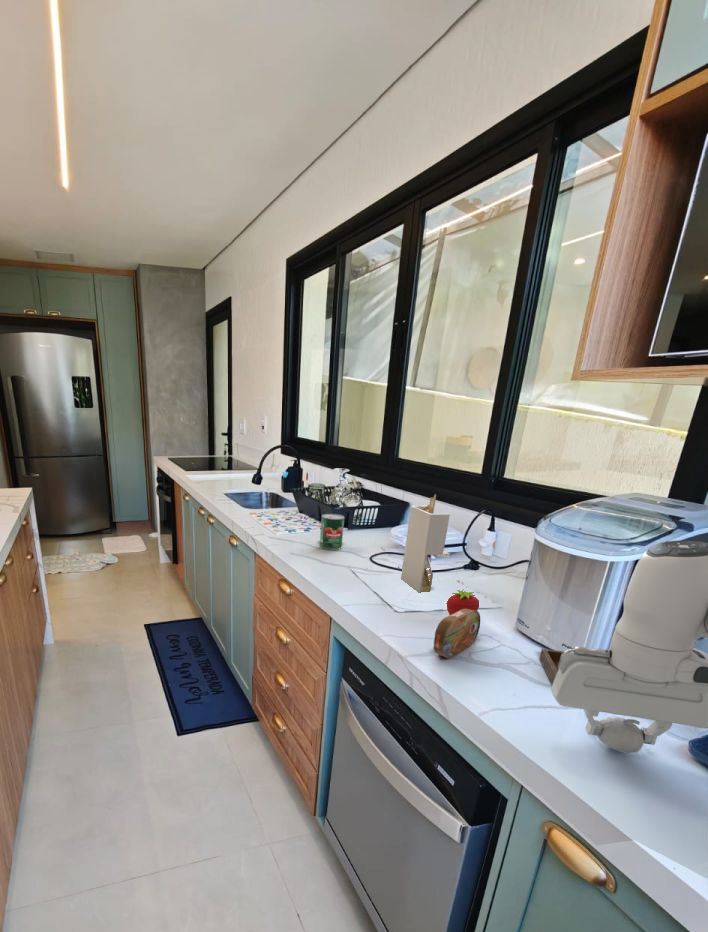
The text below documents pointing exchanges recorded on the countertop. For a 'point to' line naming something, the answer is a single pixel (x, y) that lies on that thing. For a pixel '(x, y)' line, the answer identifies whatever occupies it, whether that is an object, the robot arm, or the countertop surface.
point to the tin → (456, 633)
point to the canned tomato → (331, 531)
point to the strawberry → (462, 602)
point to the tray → (550, 662)
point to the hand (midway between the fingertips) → (618, 737)
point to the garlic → (621, 734)
